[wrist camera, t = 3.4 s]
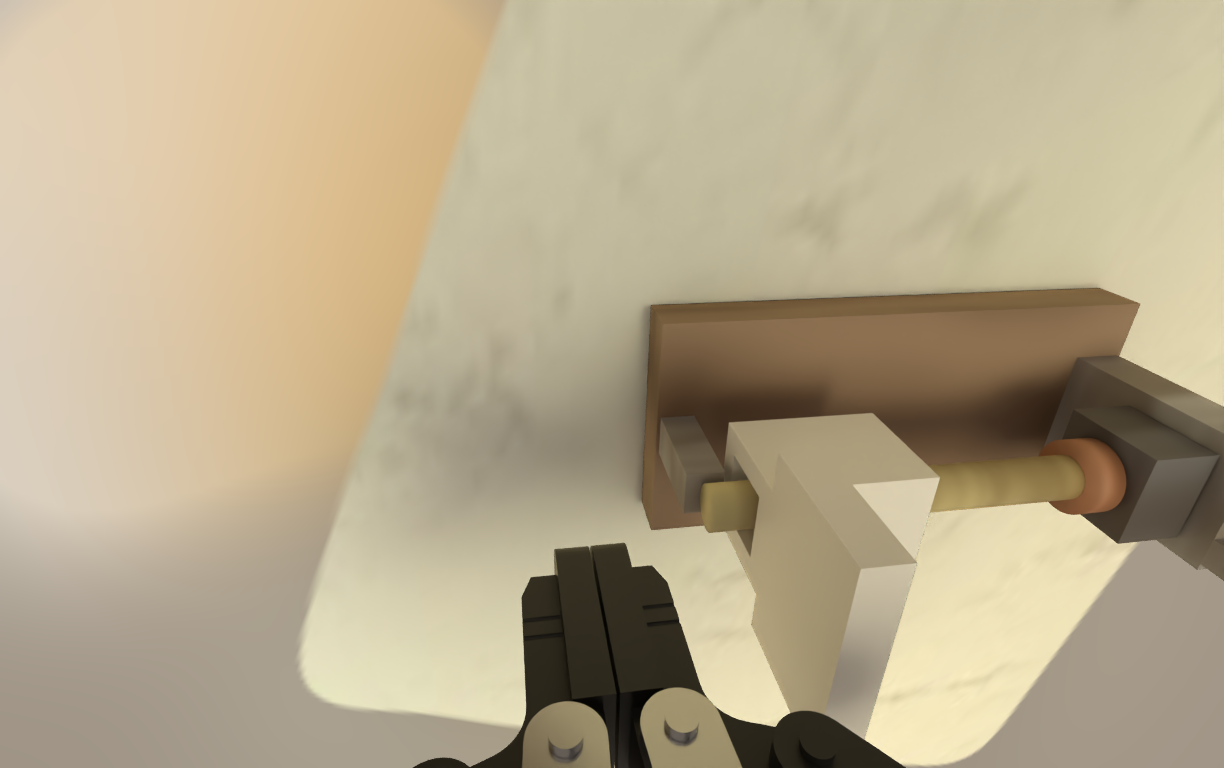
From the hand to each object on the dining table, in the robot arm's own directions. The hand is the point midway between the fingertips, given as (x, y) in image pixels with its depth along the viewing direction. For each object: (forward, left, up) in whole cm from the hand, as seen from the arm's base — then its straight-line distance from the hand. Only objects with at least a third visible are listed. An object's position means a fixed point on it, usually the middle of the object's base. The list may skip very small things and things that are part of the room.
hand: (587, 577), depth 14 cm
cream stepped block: (0, +6, -3) cm, 7 cm away
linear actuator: (0, +10, -7) cm, 12 cm away
